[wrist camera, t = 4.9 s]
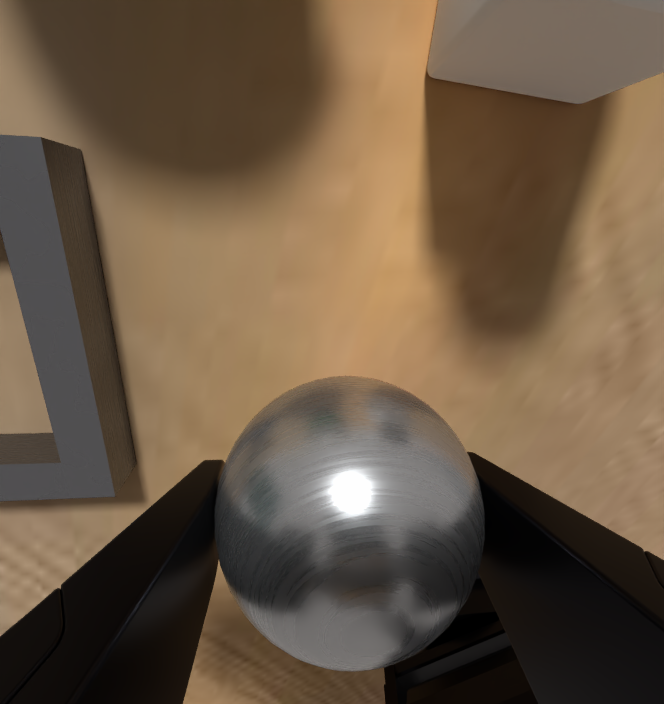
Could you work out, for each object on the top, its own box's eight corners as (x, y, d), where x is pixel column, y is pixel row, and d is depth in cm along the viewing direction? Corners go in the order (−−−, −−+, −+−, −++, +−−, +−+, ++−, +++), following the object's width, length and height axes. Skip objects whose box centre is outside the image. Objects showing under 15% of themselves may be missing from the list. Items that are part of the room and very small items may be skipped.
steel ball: (416, 504, 11) (512, 729, 6) (240, 513, 10) (196, 766, 6) (439, 342, 9) (598, 479, 4) (229, 341, 8) (153, 497, 4)
